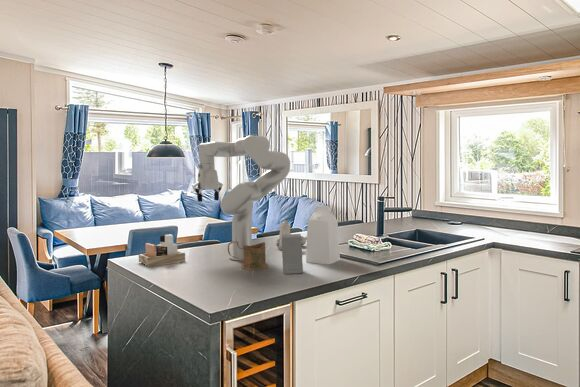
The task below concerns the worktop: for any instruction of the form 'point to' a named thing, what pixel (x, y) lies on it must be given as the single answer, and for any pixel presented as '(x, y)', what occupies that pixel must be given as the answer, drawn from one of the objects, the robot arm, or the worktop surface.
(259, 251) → the mug
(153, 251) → the pusher plate
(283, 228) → the chinaware
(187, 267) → the worktop surface
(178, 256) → the wooden tray
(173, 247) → the medicine bottle
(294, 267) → the skincare box
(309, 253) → the milk
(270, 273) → the worktop surface
